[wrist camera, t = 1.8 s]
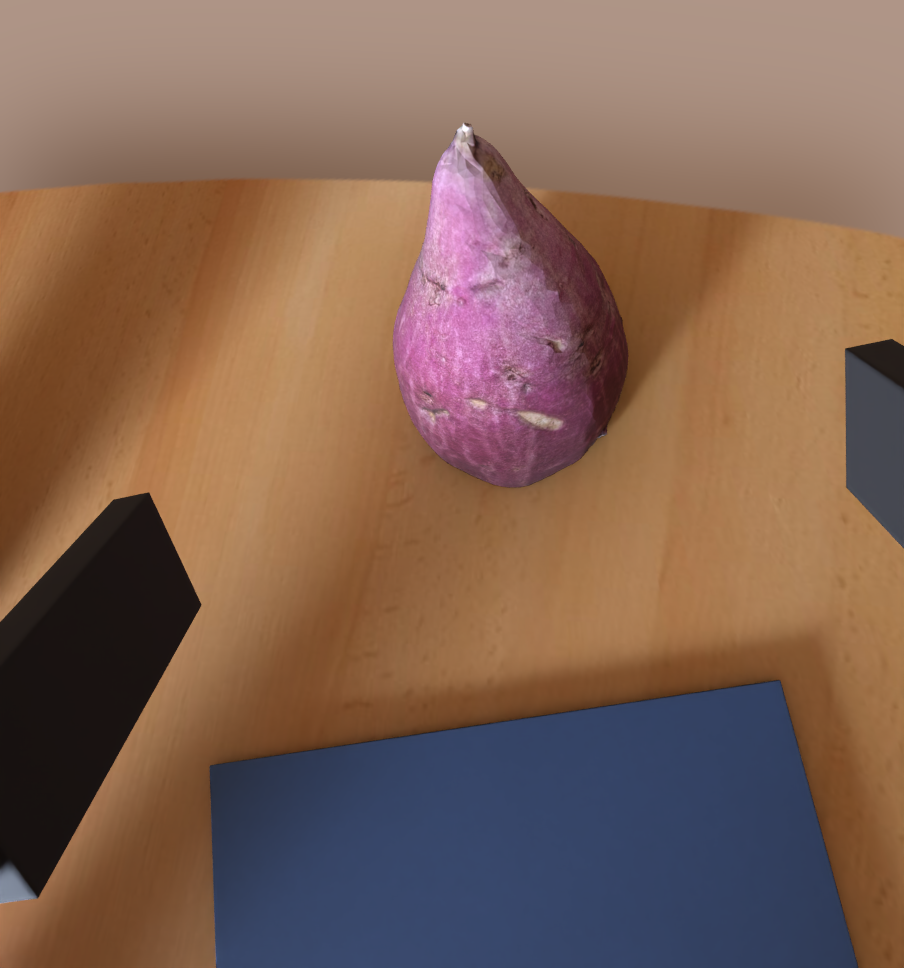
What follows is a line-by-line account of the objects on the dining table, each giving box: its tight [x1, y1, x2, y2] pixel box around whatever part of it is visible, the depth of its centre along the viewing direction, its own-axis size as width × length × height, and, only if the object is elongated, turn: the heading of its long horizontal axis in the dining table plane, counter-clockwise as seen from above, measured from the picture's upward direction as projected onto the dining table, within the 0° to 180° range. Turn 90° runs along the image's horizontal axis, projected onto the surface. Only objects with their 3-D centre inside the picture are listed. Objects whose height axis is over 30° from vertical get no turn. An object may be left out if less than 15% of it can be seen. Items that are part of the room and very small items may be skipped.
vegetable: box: [393, 123, 628, 487], centre depth 31 cm, size 10×10×15 cm
